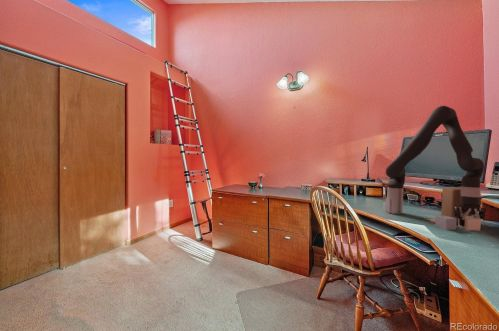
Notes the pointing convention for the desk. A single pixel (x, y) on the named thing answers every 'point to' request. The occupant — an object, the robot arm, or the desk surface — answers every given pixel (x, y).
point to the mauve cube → (445, 222)
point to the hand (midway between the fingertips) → (469, 226)
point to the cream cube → (471, 223)
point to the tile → (431, 220)
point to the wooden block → (451, 201)
